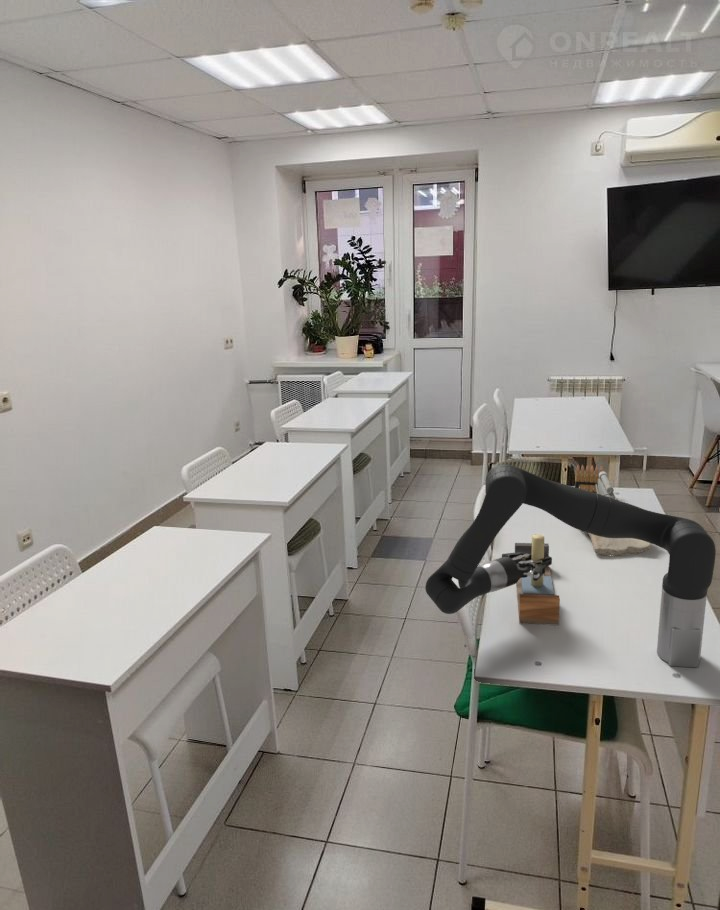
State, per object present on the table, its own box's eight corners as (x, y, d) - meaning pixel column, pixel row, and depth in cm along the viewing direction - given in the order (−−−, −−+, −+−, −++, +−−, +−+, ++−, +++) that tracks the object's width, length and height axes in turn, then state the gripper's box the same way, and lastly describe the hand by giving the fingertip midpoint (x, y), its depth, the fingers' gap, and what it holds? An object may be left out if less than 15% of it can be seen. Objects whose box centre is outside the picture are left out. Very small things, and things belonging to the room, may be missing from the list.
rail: (558, 624, 168) (559, 599, 165) (519, 623, 170) (519, 597, 167) (547, 565, 199) (548, 543, 197) (514, 564, 201) (514, 542, 199)
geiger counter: (619, 488, 221) (607, 466, 244) (599, 488, 222) (590, 466, 245) (616, 526, 225) (605, 500, 248) (597, 525, 226) (588, 500, 249)
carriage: (553, 607, 171) (555, 545, 165) (522, 606, 172) (523, 544, 167) (550, 589, 180) (552, 529, 175) (521, 588, 181) (521, 529, 176)
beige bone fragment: (632, 528, 225) (574, 524, 226) (636, 508, 222) (577, 505, 224) (657, 561, 202) (592, 557, 203) (661, 540, 200) (595, 536, 201)
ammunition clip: (602, 493, 255) (604, 464, 252) (602, 495, 254) (604, 466, 250) (574, 491, 259) (575, 463, 256) (574, 493, 257) (575, 464, 254)
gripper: (515, 572, 159) (565, 554, 167) (478, 552, 171) (527, 536, 179) (515, 599, 161) (565, 580, 169) (478, 577, 173) (527, 560, 181)
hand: (545, 557), depth 174 cm, fingers closed on carriage, 3 cm apart
